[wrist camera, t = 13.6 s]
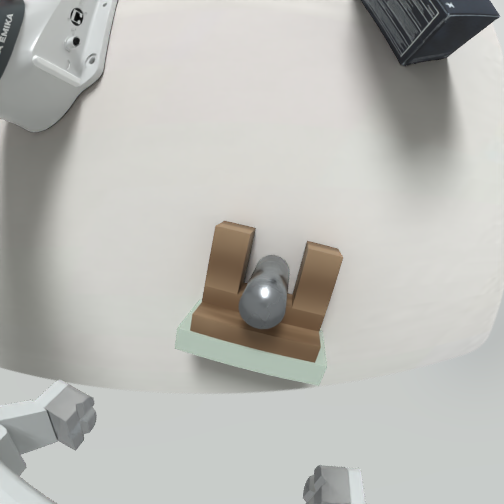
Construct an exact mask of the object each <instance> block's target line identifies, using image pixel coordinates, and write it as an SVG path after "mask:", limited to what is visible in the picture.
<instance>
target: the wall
mask: <svg viewBox="0 0 504 504" xmlns="http://www.w3.org/2000/svg"><path fill="white" fill-rule="evenodd" d="M201 302H202V300H199V301H198V303H197V304H196V305H195V306H194V308H193V309H192V310H191V311H190V313H189V314H188V315H187V316H186V318H185V319H184V320H183V321H182V323H181V324H180V325H179V327H178V328H177V334H176V343H175V349H178V350H181V351H184V352H187V353H191V354H194V355H197V356H200V357H203V358H207V359H210V360H214V361H217V362H220V363H224V364H228V365H231V366H235V367H239V368H242V369H246V370H250V371H254V372H258V373H262V374H266V375H270V376H275V377H279V378H284V379H288V380H293V381H298V382H303V383H308V384H313V385H318V386H319V384H320V382H321V380H322V378H323V375H324V373H325V371H326V368H327V361H326V354H325V347H324V340H323V333H322V331H319V335H320V343H321V348H320V351H319V354H318V356H317V359H316V361H315V363H314V362H309V361H304V360H299V359H295V358H290V357H286V356H282V355H277V354H273V353H269V352H265V351H261V350H257V349H253V348H249V347H245V346H242V345H238V344H234V343H230V342H227V341H223V340H220V339H216V338H213V337H209V336H206V335H203V334H199V333H196V332H193V331H190V327H191V320H192V314H193V313H194V311H195V310H196V309H197V308H198V306H199V305H200V304H201Z"/></svg>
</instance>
